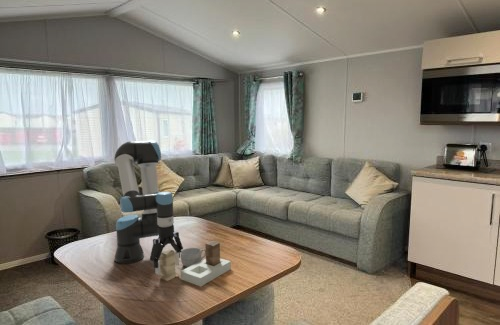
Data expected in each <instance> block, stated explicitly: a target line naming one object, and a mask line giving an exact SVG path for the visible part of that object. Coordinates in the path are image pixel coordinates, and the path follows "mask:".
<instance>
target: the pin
mask: <svg viewBox="0 0 500 325" xmlns="http://www.w3.org/2000/svg"><path fill="white" fill-rule="evenodd" d="M175 252H176V251H175V250H173V249H169V248H166V249H163V250H162V253H161V255H160V258H159V261H160V272H161V274H160V279H162V280H164V281H166V282H169V281H171V280H172V279H174V278H176V276H177V275H176V265H175Z"/></svg>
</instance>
